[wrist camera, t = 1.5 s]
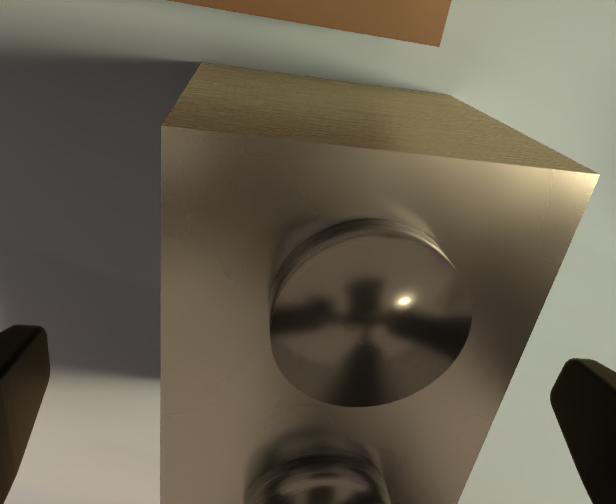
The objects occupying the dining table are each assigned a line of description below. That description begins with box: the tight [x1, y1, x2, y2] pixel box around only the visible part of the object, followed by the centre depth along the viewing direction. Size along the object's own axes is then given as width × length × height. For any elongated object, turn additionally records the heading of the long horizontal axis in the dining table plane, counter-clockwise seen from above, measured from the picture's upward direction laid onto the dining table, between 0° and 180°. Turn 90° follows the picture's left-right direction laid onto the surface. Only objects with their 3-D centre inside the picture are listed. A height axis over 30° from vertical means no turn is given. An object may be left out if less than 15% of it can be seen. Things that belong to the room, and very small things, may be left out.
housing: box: [160, 62, 600, 504], centre depth 9 cm, size 8×5×6 cm, turn 172°
